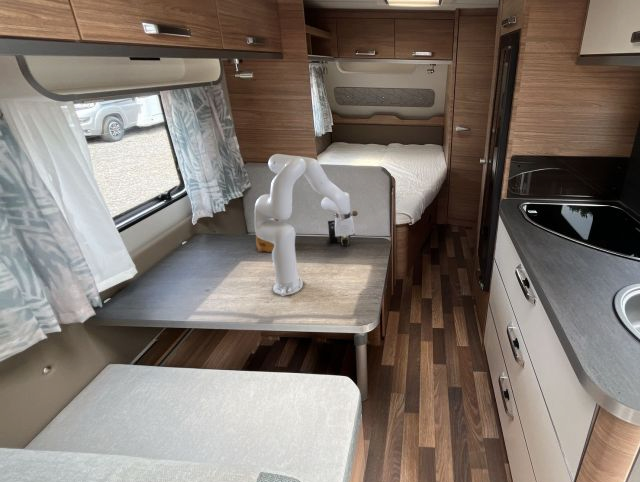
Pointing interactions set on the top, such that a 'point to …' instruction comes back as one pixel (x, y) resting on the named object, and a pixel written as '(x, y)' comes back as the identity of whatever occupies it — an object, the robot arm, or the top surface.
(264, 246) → the coffee package
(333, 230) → the slicer
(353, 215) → the lever
